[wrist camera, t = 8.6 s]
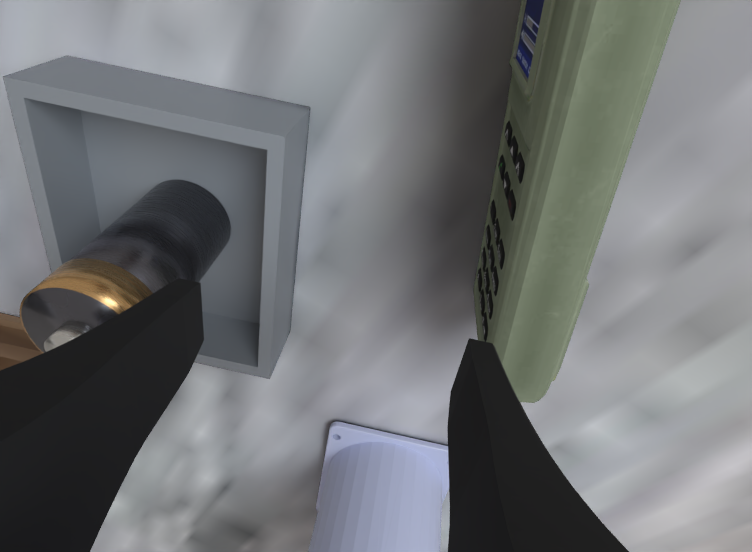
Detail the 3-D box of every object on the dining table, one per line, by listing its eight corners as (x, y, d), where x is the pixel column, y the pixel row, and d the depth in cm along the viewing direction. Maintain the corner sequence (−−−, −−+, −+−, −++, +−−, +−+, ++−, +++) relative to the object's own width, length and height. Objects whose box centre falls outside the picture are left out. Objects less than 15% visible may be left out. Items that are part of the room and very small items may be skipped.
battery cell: (229, 267, 25) (131, 411, 18) (146, 244, 25) (14, 378, 17) (235, 193, 22) (124, 324, 15) (143, 167, 22) (-11, 286, 15)
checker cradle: (126, 434, 35) (112, 455, 33) (-3, 405, 35) (-21, 424, 34) (107, 337, 29) (91, 356, 28) (-43, 303, 30) (-67, 320, 28)
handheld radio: (462, 292, 25) (636, -696, 10) (531, 299, 24) (805, -697, 10) (469, 398, 19) (854, -1380, 5) (558, 407, 19) (1225, -1409, 5)
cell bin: (290, 331, 27) (269, 379, 24) (108, 290, 27) (66, 333, 25) (310, 107, 20) (285, 137, 17) (66, 55, 21) (2, 76, 18)
